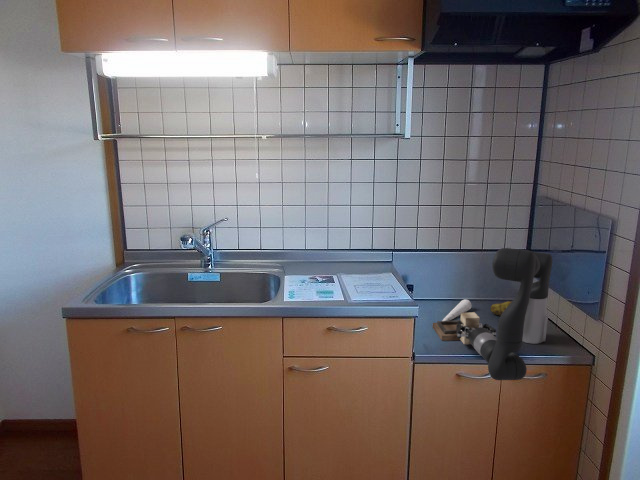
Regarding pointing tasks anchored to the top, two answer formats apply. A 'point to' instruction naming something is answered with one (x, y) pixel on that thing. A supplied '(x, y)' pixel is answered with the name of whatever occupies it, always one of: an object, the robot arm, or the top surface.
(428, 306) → the top surface
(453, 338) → the walnut base
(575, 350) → the top surface
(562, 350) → the top surface
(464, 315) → the maple pillar
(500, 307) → the potato
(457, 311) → the unicorn horn
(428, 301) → the top surface
